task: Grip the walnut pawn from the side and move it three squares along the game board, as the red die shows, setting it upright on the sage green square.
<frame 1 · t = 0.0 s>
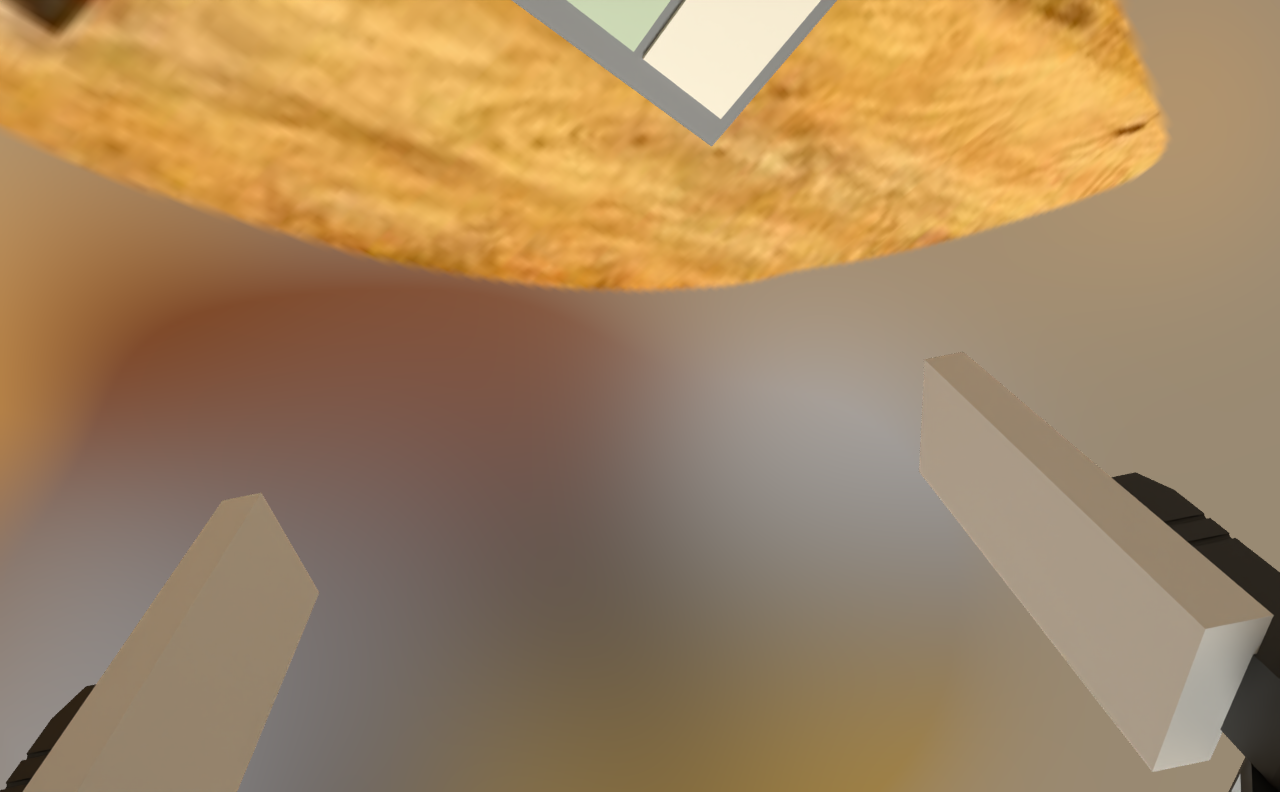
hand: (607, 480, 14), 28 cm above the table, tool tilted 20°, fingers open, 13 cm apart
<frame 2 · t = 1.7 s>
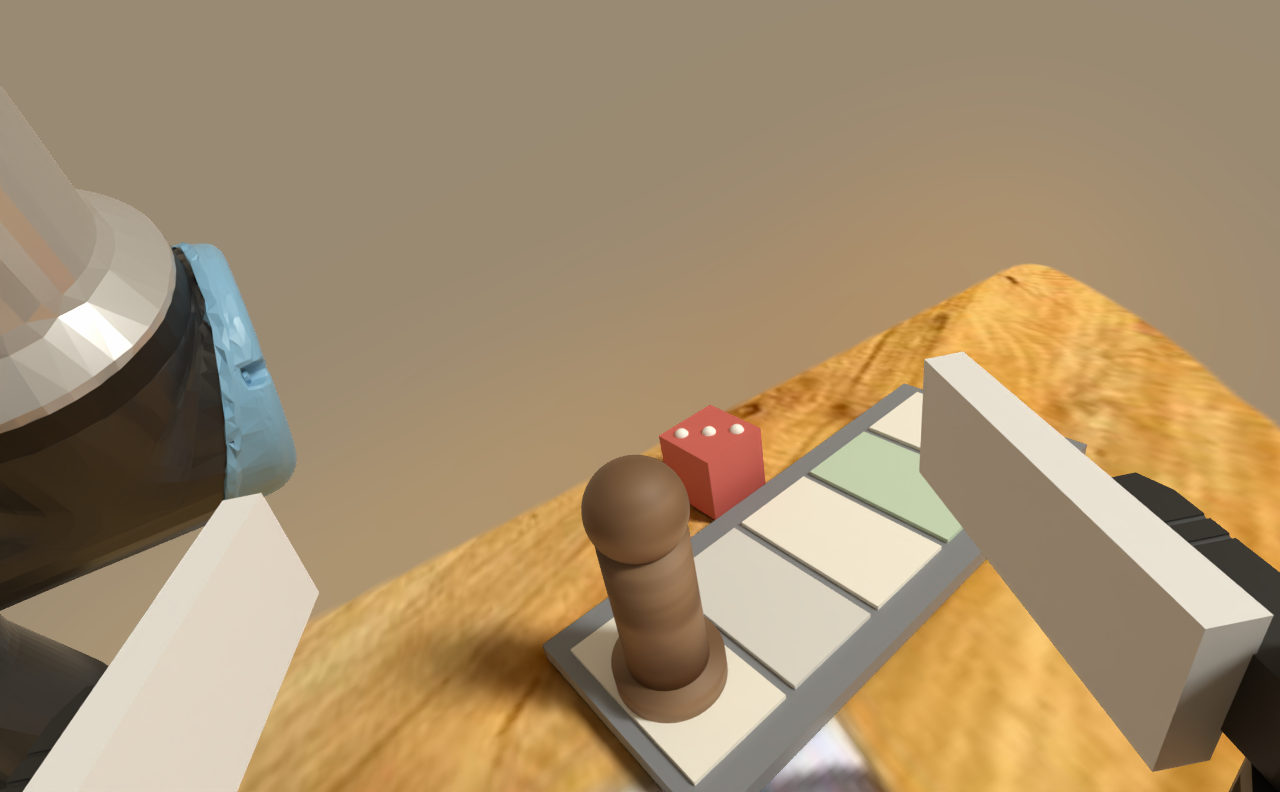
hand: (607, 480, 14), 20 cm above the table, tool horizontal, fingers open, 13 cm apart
game board: (836, 550, 38), on the table
pawn: (671, 670, 31), point 1 cm above the table, touching game board
red die: (716, 487, 44), on the table
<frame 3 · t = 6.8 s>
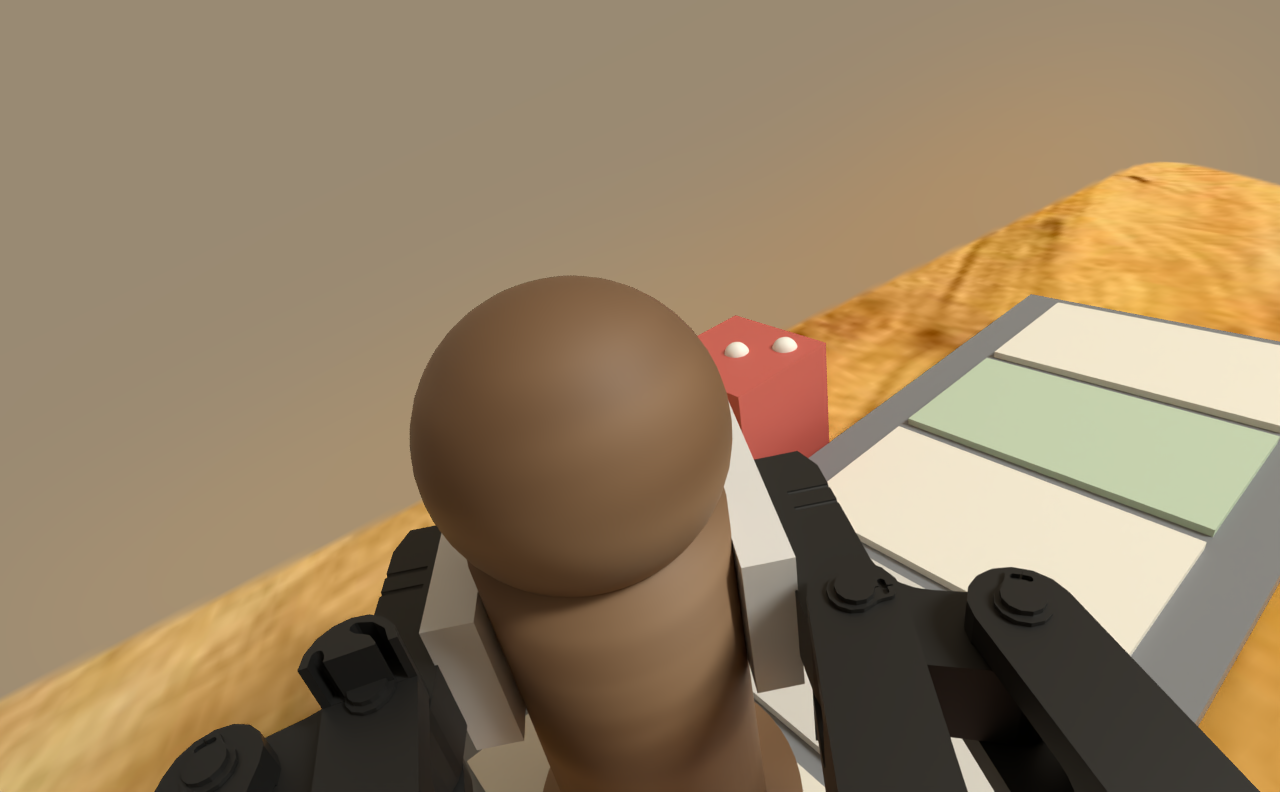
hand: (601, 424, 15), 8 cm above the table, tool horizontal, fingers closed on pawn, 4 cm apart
game board: (979, 552, 20), on the table
red die: (747, 450, 27), on the table
when the fingers open (9 cm above the table, at t = 11.7 s): pawn drops 1 cm, resting on game board.
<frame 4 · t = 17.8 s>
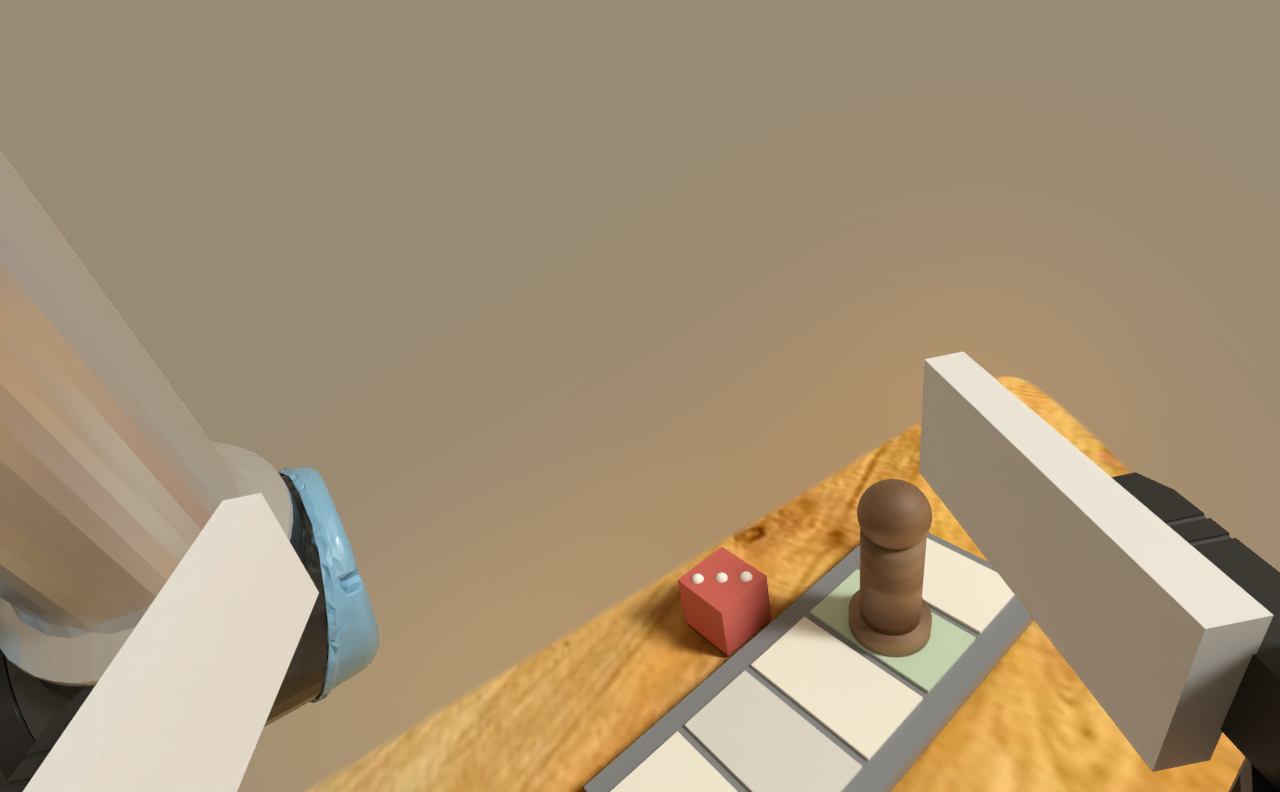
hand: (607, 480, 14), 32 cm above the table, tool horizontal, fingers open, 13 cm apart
game board: (833, 692, 44), on the table
pawn: (888, 624, 46), point 1 cm above the table, touching game board
red die: (728, 620, 50), on the table
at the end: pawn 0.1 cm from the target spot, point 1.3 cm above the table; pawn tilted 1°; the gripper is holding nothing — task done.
